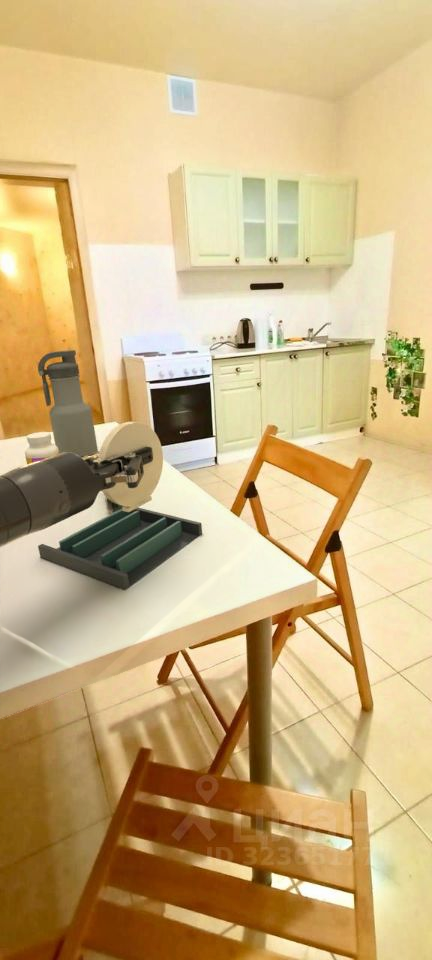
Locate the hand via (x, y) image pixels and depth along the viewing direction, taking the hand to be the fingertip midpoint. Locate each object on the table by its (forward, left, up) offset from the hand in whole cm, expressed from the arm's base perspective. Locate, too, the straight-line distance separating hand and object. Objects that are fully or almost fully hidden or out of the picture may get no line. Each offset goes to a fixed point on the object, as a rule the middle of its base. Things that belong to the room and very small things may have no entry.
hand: (145, 452), depth 65 cm
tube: (-23, +14, -16) cm, 32 cm away
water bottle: (-45, +23, -16) cm, 53 cm away
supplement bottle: (-37, +8, -16) cm, 41 cm away
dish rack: (-4, -3, -16) cm, 17 cm away
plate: (0, -3, -7) cm, 8 cm away
